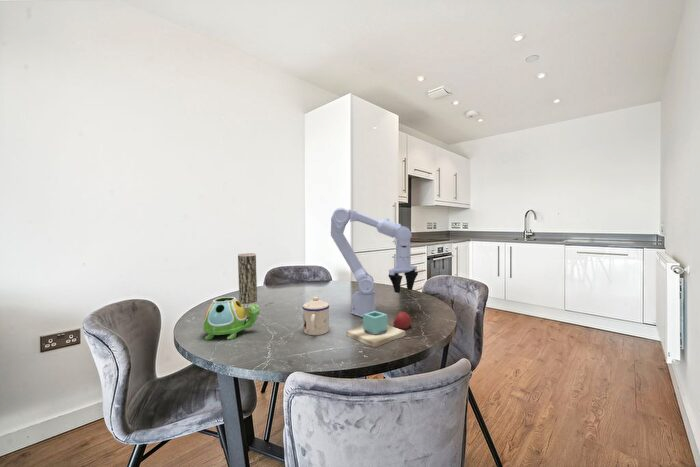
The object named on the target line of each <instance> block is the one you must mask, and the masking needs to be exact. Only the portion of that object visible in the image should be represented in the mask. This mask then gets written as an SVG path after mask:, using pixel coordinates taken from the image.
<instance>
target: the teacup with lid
mask: <svg viewBox="0 0 700 467" xmlns="http://www.w3.org/2000/svg"><path fill="white" fill-rule="evenodd" d="M329 307H330V303H328V302H327V301H324V300H322V299H319V297H318V296H313V297H312V299H311V300H309V301H308V302H305V303H304V304H303V305H302V311H303V314H302V315H303V317H302V318H303V332H304V334H306V335H309V336H320V335H324V334H327V333H329V331H330V317H329V316H330V312H329V311H330V308H329Z"/></svg>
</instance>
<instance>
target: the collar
mask: <svg viewBox="0 0 700 467" xmlns="http://www.w3.org/2000/svg"><path fill="white" fill-rule="evenodd" d="M388 323H389V322H388V314H387V313H384V312H380V311H378V310H375V311H373V312H369V313H366V314H363V317H362V326H363V330H366V331H368V332H371V333H373V334H377V333H380V332H383V331H386V330H388V325H389V324H388Z"/></svg>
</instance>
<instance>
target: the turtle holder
mask: <svg viewBox="0 0 700 467" xmlns="http://www.w3.org/2000/svg"><path fill="white" fill-rule="evenodd" d="M260 311H261V308H260V306H259V304H258V303H257V304H255V305H251V306H250V307H249V309H248V313H249V315H250V316H249V318H247V317H246V313H245V310H244V307H243V306H242V304H241V303H240V302H239V299H237V298H236V297H234V296H225V297H224V296H223V297H217V298H215V299H213V300H212V303H211V304H210V305H209V306H208V307H207V309H206V310H205V314H204V318H203V321H202V323H203V331H204V333H205V334H207V335H206V336H205V337H204V340H212V339H214V337H215V335H216V336H217V335H218V336H220V335H227V337H226V340H229V339H230V340H233V338H234V339H235V338H236V337H237V333H239V332H241V331H243V330H245V329H248V328H252V327H253V326H254V325H255V324H256V322H257V320H258V315H259V314H260ZM230 340H229V341H230Z"/></svg>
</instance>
